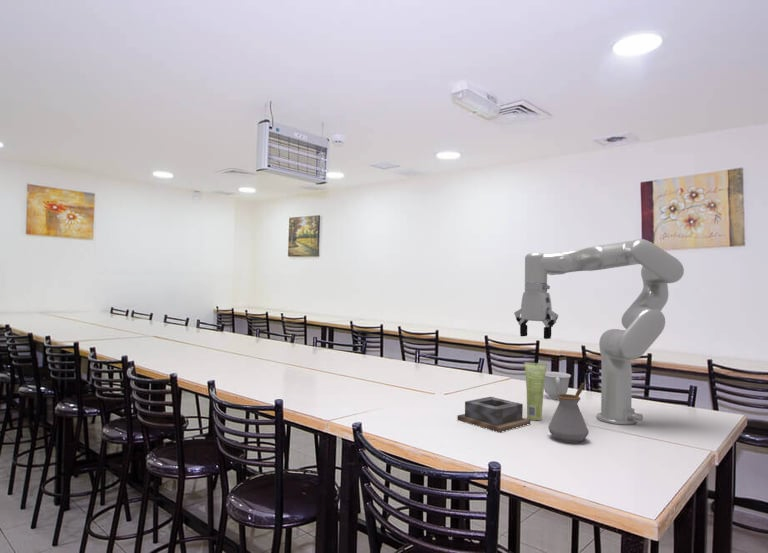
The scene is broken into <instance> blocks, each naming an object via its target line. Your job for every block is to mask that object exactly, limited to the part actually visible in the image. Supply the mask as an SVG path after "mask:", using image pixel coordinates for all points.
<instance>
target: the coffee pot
mask: <svg viewBox="0 0 768 553" xmlns="http://www.w3.org/2000/svg"><path fill="white" fill-rule="evenodd" d="M585 385H586V386H587V387H589V385H588V383H585V382H581V384H580V385H579V388H578V389H577V390H576V393H575V394H569V393H566V394H559V395H557V397H558V398H559V402H558V405H557V407H556V409H555V411H554V413H553V416H552V418H551V420H550V422H549V423H548V427H547V428H548V431H549V433H550V434H551V435H552V436H553V437H554V439H555V438H556V439H555V440H557V439H558V440H557V441H560V442H563V441H565V442H564V443H569V442H571V443H572V444H576V443H577V442H578V443H581V442H582V441H583V440H585V439H586V438H587V437H588V435H589V433H590V431H589V429H588V426H587V423H586V422H585V421H586V420H584V417H583V415H582V411H581V409H580V407H579V405H578V403H579V402H580V400H581V397H580V395H581V393H582V391H583V389H585Z"/></svg>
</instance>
